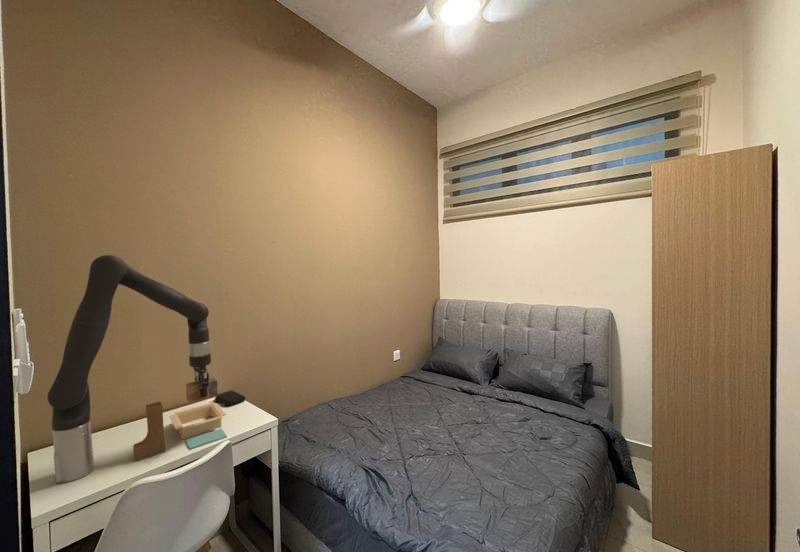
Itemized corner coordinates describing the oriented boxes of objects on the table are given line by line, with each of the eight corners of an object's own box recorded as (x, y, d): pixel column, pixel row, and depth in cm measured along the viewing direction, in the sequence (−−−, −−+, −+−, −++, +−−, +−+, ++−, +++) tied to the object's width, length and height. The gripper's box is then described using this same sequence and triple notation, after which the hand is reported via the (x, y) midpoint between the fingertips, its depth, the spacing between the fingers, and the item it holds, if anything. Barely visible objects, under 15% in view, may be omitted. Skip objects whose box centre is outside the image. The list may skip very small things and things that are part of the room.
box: (189, 402, 133) (188, 387, 132) (186, 398, 137) (185, 383, 136) (217, 395, 140) (217, 380, 139) (214, 391, 143) (213, 377, 143)
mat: (189, 449, 130) (189, 448, 130) (185, 441, 136) (185, 440, 136) (226, 437, 138) (226, 435, 138) (221, 429, 144) (221, 428, 144)
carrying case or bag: (211, 401, 173) (226, 409, 164) (210, 395, 172) (225, 403, 164) (232, 394, 181) (247, 401, 172) (232, 388, 181) (247, 395, 172)
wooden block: (135, 461, 123) (131, 412, 121) (134, 456, 126) (130, 408, 125) (165, 451, 129) (162, 404, 127) (163, 446, 132) (160, 401, 131)
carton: (177, 443, 134) (176, 431, 134) (169, 425, 149) (168, 414, 148) (227, 427, 146) (227, 415, 146) (216, 411, 161) (215, 401, 160)
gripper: (185, 351, 140) (187, 392, 141) (193, 358, 129) (195, 403, 130) (205, 347, 145) (207, 387, 146) (215, 354, 134) (217, 397, 135)
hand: (202, 394), depth 138 cm, fingers closed on box, 5 cm apart
